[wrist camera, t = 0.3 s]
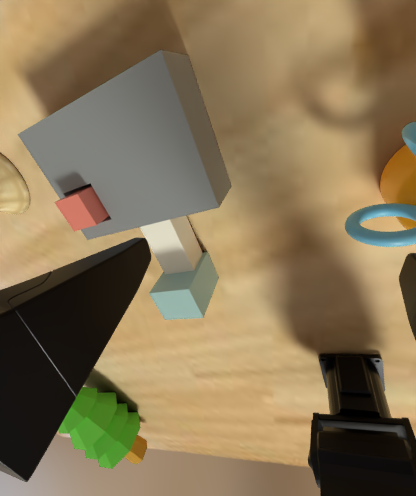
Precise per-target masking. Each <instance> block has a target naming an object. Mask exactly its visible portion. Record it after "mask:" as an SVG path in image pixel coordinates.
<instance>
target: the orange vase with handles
mask: <svg viewBox="0 0 416 496" xmlns="http://www.w3.org/2000/svg"><path fill="white" fill-rule="evenodd" d="M402 138H403V140H404V142H405V143H406V145H404V146H403V147H402V148H401V149H400V150H398V151H397V152H396V153H395V154H394V155H393V157H392V158H391V159H390V160H389V161H388V163H387V165H386V166H385V168H384V170H383V173H382V175H381V180H380V191H381V195H382V197H383V199H384V201H385V202H386V204H378V205H373V206H368V207H365V208H362V209H360V210H357V211H355V212H354V213H352V214H351V215H350V216H349V217H348V218H347V220H346V222H345V229H346V231H347V233H348V234H349V235H350V236H351V237H352V238H354V239H355V240H357V241H360V242H362V243H365V244H369V245H374V246H382V247H399V246H407V245H412V244H416V122H411V123H409V124H407V125H406V126H405V127H404V128H403V130H402ZM383 216H396V218H397V219H398V220H399V222H400V223H401V224H402V225H403V226H404V227H405V228H406V229H407V230H404V231H397V232H380V231H373V230H369V229H366V228H364V227H362V226H361V225H360V224H361V223H362V222H363V221H365V220H368V219H371V218H376V217H383Z"/></svg>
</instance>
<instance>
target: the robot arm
mask: <svg viewBox="0 0 416 496" xmlns="http://www.w3.org/2000/svg"><path fill="white" fill-rule="evenodd" d="M150 261H151V253H150V249H149V245H148V242H147V240H146V239H145V238H134V239H131V240H129V241H126V242H124V243H121V244H119V245H116V246H114V247H111V248H108V249H106V250H103V251H101V252H98V253H96V254H93V255H91V256H88V257H86V258H83V259H81V260H78V261H76V262H73V263H71V264H68V265H66V266H63V267H61V268H58V269H56V270H53V271H50V272H48V273H45V274H43V275H40V276H38V277H35V278H32V279H30V280H27V281H25V282H22V283H19V284H16V285H14V286H11V287H8V288H5V289H2V290H0V471H2V472H5V473H7V474H9V475H11V476H13V477H16V478H18V479H20V480H22V481H25V482H27V481H28V480H29V478H30V477H31V476H32V474H33V473H34V471H35V469H36V467H37V466H38V464H39V462H40V460H41V459H42V457H43V455H44V453H45V452H46V450H47V448H48V446H49V445H50V443H51V441H52V439H53V438H54V436H55V434H56V432H57V431H58V429H59V427H60V425H61V424H62V422H63V420H64V419H65V417H66V415H67V413H68V412H69V410H70V408H71V406H72V405H73V403H74V401H75V399H76V397H77V396H78V394H79V392H80V390H81V389H82V387H83V385H84V383H85V382H86V380H87V378H88V376H89V375H90V373H91V371H92V369H93V368H94V366H95V364H96V362H97V361H98V359H99V357H100V355H101V354H102V352H103V350H104V348H105V347H106V345H107V343H108V341H109V340H110V338H111V336H112V334H113V333H114V331H115V329H116V327H117V326H118V324H119V322H120V321H121V319H122V317H123V315H124V314H125V312H126V310H127V308H128V307H129V305H130V303H131V301H132V300H133V298H134V296H135V294H136V292H137V291H138V288H139V286H140V284H141V282H142V280H143V277H144V275H145V273H146V270H147V268H148V266H149V264H150ZM399 282H400V287H401V291H402V295H403V299H404V303H405V308H406V312H407V316H408V320H409V323H410V326H411V329H412V332H413V335H414V337H415V340H416V253H410V254H408V255H407V257H406V259H405V262H404V264H403V267H402V270H401V272H400V276H399ZM319 362H320V366H321V370H322V374H323V378H324V382H325V386H326V388H327V389H328V399H329V408H330V414H319V413H313V420H312V421H311V422H312V425H311V444H310V451H309V456H308V464H309V466H310V467H311V468H312V470H313V472H314V476H315V480H316V483H317V485H318V487H319V488H320V489H321V496H416V438H415V436H414V433H413V430H412V427H411V424H410V422H409V419H408V418H402V419H400V418H391V414H390V411H389V407H388V404H387V400H386V397H385V393H384V391H385V386H384V373H383V361H382V358H381V356H378V355H334V354H321V355H319Z"/></svg>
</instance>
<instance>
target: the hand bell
mask: <svg viewBox="0 0 416 496" xmlns="http://www.w3.org/2000/svg"><path fill="white" fill-rule="evenodd" d="M29 205H30V195H29V191H28V188H27V185H26V183H25V181H24V179H23V178H22V176H21V175H20V173H19V172H18V170H17V169H16V168H15V167H14V165H13V164H12V163H11V162H9V160H8V159H6V158H5V157H4V156H3V155H1V154H0V212H4V213H7V214H22V213H24V212H26V211H27V209H28V208H29Z"/></svg>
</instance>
